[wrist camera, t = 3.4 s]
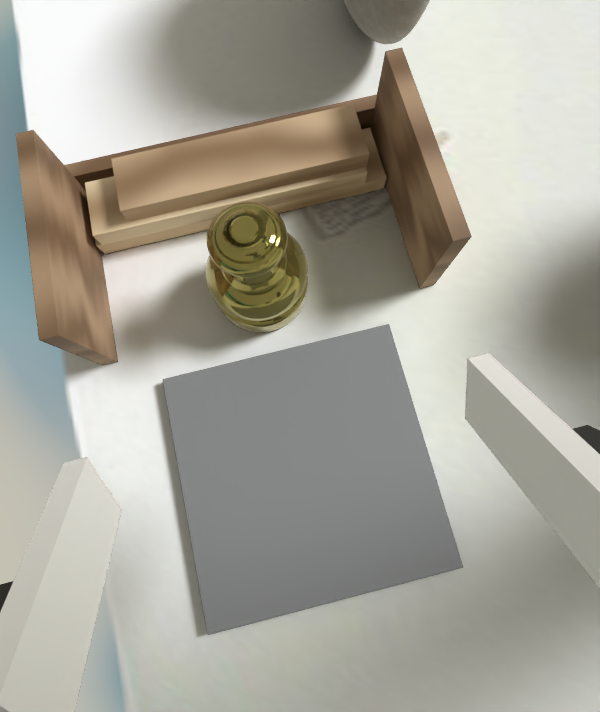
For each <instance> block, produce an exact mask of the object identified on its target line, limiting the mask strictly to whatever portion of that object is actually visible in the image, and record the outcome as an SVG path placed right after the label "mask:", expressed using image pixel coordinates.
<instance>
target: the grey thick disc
mask: <svg viewBox="0 0 600 712" xmlns="http://www.w3.org/2000/svg"><path fill="white" fill-rule="evenodd" d="M343 1H344V4H345V6H346V8H347V10H348V12H349V14H350V15H351V17H352V19H353V20H354V22H355V23H356V25H357V26H358V27H359V29H360V30H361V31H362V32H363V33H364V34H365V35H366V36H368V37H369V38H370V39H372V40H373V41H376V42H378V43H382V44H392V43H396V42H398V41H400V40H402V39H403V38H404V37H406V36H407V35H408V34H409V33H410V31H411V30H412V29H413V28H414V26H415V25H416V24H417V22H418V21H419V19H420V17H421V16H422V14H423V12H424V10H425V9H426V7H427V5H428V3H429V1H430V0H343Z"/></svg>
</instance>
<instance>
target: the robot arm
mask: <svg viewBox="0 0 600 712" xmlns="http://www.w3.org/2000/svg"><path fill="white" fill-rule="evenodd" d="M465 419H466V420H467V421H468V423H469V424H470V425H471V426H472V428H473V429H474V430H475V431H476V433H477V434H478V435H479V437H480V438H481V439H482V440H483V442H484V443H485V444H486V445H487V447H488V448H489V449H490V450H491V452H492V453H493V454H494V455H495V457H496V458H497V459H498V461H499V462H500V463H501V464H502V466H503V467H504V468H505V469H506V471H507V472H508V473H509V474H510V476H511V477H512V478H513V480H514V481H515V482H516V483H517V485H518V486H519V487H520V488H521V490H522V491H523V492H524V493H525V495H526V496H527V497H528V498H529V500H530V501H531V502H532V504H533V505H534V506H535V507H536V509H537V510H538V511H539V512H540V514H541V515H542V516H543V517H544V519H545V520H546V521H547V522H548V524H549V525H550V526H551V528H552V529H553V530H554V531H555V533H556V534H557V535H558V536H559V538H560V539H561V540H562V541H563V543H564V544H565V545H566V546H567V548H568V549H569V550H570V552H571V553H572V554H573V555H574V557H575V558H576V559H577V560H578V562H579V563H580V564H581V565H582V567H583V568H584V569H585V570H586V572H587V573H588V574H589V576H590V577H591V578H592V579H593V581H594V582H595V583H596V584H597V586H598V587H599V588H600V431H599V430H597V429H595V428H593V427H591V426H589V425H586V426H582V427H578V428H574V429H571V428H570V427H569V426H568V425H567V424H566V423H565V422H564V421H563V420H562V419H560V418H559V417H558V416H557V415H556V414H555V413H554V412H553V411H552V410H551V409H549V408H548V407H547V406H546V405H545V404H544V403H543V402H542V401H541V400H540V399H539V398H537V397H536V396H535V395H534V394H533V393H532V392H531V391H530V390H529V389H528V388H527V387H525V386H524V385H523V384H522V383H521V382H520V381H519V380H518V379H517V378H516V377H514V376H513V375H512V374H511V373H510V372H509V371H508V370H507V369H506V368H505V367H504V366H502V365H501V364H500V363H499V362H498V361H497V360H496V359H495V358H494V357H493V356H491V355H490V354H489V353H487V354H483V355H479V356H475V357H471V358H468V359H467V383H466V408H465ZM121 511H122V509H121V507H120V506H119V504H118V503H117V501H116V500H115V498H114V497H113V495H112V494H111V492H110V491H109V489H108V488H107V486H106V485H105V483H104V482H103V480H102V479H101V477H100V476H99V474H98V473H97V471H96V470H95V468H94V467H93V465H92V464H91V462H90V461H89V459H88V457H85V458H81V459H77V460H73V461H69V462H66V463H64V464H63V466H62V468H61V471H60V473H59V476H58V478H57V480H56V483H55V485H54V487H53V490H52V492H51V494H50V497H49V499H48V501H47V504H46V506H45V509H44V511H43V513H42V515H41V518H40V520H39V523H38V525H37V527H36V530H35V532H34V534H33V537H32V539H31V541H30V544H29V546H28V548H27V551H26V553H25V555H24V558H23V560H22V562H21V565H20V567H19V570H18V572H17V574H16V577H15V579H14V581H12V582H8V583H5V584H1V585H0V712H75V708H76V704H77V700H78V696H79V691H80V687H81V683H82V678H83V674H84V670H85V665H86V661H87V657H88V653H89V648H90V644H91V640H92V635H93V631H94V626H95V622H96V618H97V614H98V609H99V605H100V601H101V597H102V593H103V588H104V584H105V580H106V575H107V571H108V567H109V563H110V558H111V554H112V550H113V545H114V541H115V537H116V533H117V528H118V524H119V520H120V515H121Z"/></svg>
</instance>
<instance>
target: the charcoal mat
mask: <svg viewBox="0 0 600 712" xmlns="http://www.w3.org/2000/svg"><path fill="white" fill-rule="evenodd" d="M163 384H164V390H165V396H166V401H167V407H168V413H169V418H170V424H171V430H172V435H173V441H174V447H175V452H176V458H177V464H178V469H179V475H180V481H181V486H182V492H183V498H184V503H185V509H186V515H187V520H188V526H189V532H190V537H191V543H192V549H193V554H194V560H195V566H196V571H197V577H198V583H199V588H200V594H201V600H202V605H203V611H204V617H205V622H206V628H207V634H208V635H210V634H214V633H218V632H221V631H225V630H229V629H233V628H236V627H240V626H244V625H248V624H252V623H255V622H259V621H263V620H267V619H270V618H274V617H278V616H282V615H286V614H289V613H293V612H297V611H301V610H304V609H308V608H312V607H316V606H319V605H323V604H327V603H331V602H335V601H338V600H342V599H346V598H350V597H353V596H357V595H361V594H365V593H369V592H372V591H376V590H380V589H384V588H387V587H391V586H395V585H399V584H403V583H406V582H410V581H414V580H418V579H421V578H425V577H429V576H433V575H436V574H440V573H444V572H448V571H452V570H455V569H459V568H463V565H462V562H461V559H460V556H459V552H458V549H457V546H456V542H455V539H454V536H453V533H452V529H451V526H450V523H449V520H448V516H447V513H446V510H445V506H444V503H443V500H442V497H441V493H440V490H439V487H438V484H437V480H436V477H435V474H434V470H433V467H432V464H431V461H430V457H429V454H428V451H427V448H426V444H425V441H424V438H423V434H422V431H421V428H420V425H419V421H418V418H417V415H416V412H415V408H414V405H413V402H412V398H411V395H410V392H409V389H408V385H407V382H406V379H405V376H404V372H403V369H402V366H401V362H400V359H399V356H398V353H397V349H396V346H395V343H394V340H393V336H392V333H391V330H390V326H389V324H387V325H383V326H379V327H375V328H371V329H367V330H363V331H359V332H355V333H350V334H346V335H342V336H338V337H334V338H330V339H326V340H322V341H318V342H314V343H310V344H305V345H301V346H297V347H293V348H289V349H285V350H281V351H277V352H273V353H269V354H265V355H261V356H256V357H252V358H248V359H244V360H240V361H236V362H232V363H228V364H224V365H220V366H216V367H211V368H207V369H203V370H199V371H195V372H191V373H187V374H183V375H179V376H175V377H171V378H166V379H163Z"/></svg>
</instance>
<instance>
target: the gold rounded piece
mask: <svg viewBox="0 0 600 712" xmlns="http://www.w3.org/2000/svg"><path fill="white" fill-rule="evenodd" d="M207 247H208V251H209V257H208V260H207V264H206V282H207V286H208V289H209V291H210V294H211V295H212V297H213V299H214V300H215V301H216V303H217V305H218V306H219V308H220V309H221V310H222V312H223V313H224V314H225V315H226V317H227V318H228V319H229V320H230V321H231V322H232V323H234V324H235V325H237V326H238V327H240V328H242V329H245V330H248V331H252V332H270V331H274V330H277V329H280V328H282V327H284V326H285V325H287V324H288V323H290V322H291V321H292V320H293V319H294V318H295V317H296V316H297V315H298V314H299V312H300V311H301V309H302V307H303V305H304V302H305V299H306V294H307V285H308V277H307V273H308V269H307V260H306V257H305V254H304V251H303V249H302V248H301V246H300V244H299V243H298V242H297V240H296V239H295V238H294V237H293V236H292V235H290V234H289V233H288V232H287V230H286V227H285V224H284V222H283V220H282V219H281V217H280V216H279V215H278V213H277V212H276V211H274V210H273V209H272V208H270V207H268V206H266V205H264V204H261V203H258V202H240V203H236V204H233V205H230V206H228V207H227V208H225V209H223V210H222V211H221V212H220V213H219V214H218V215H217V216H216V217H215V218H214V219H213V221H212V222H211V224H210V227H209V229H208V233H207Z"/></svg>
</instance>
